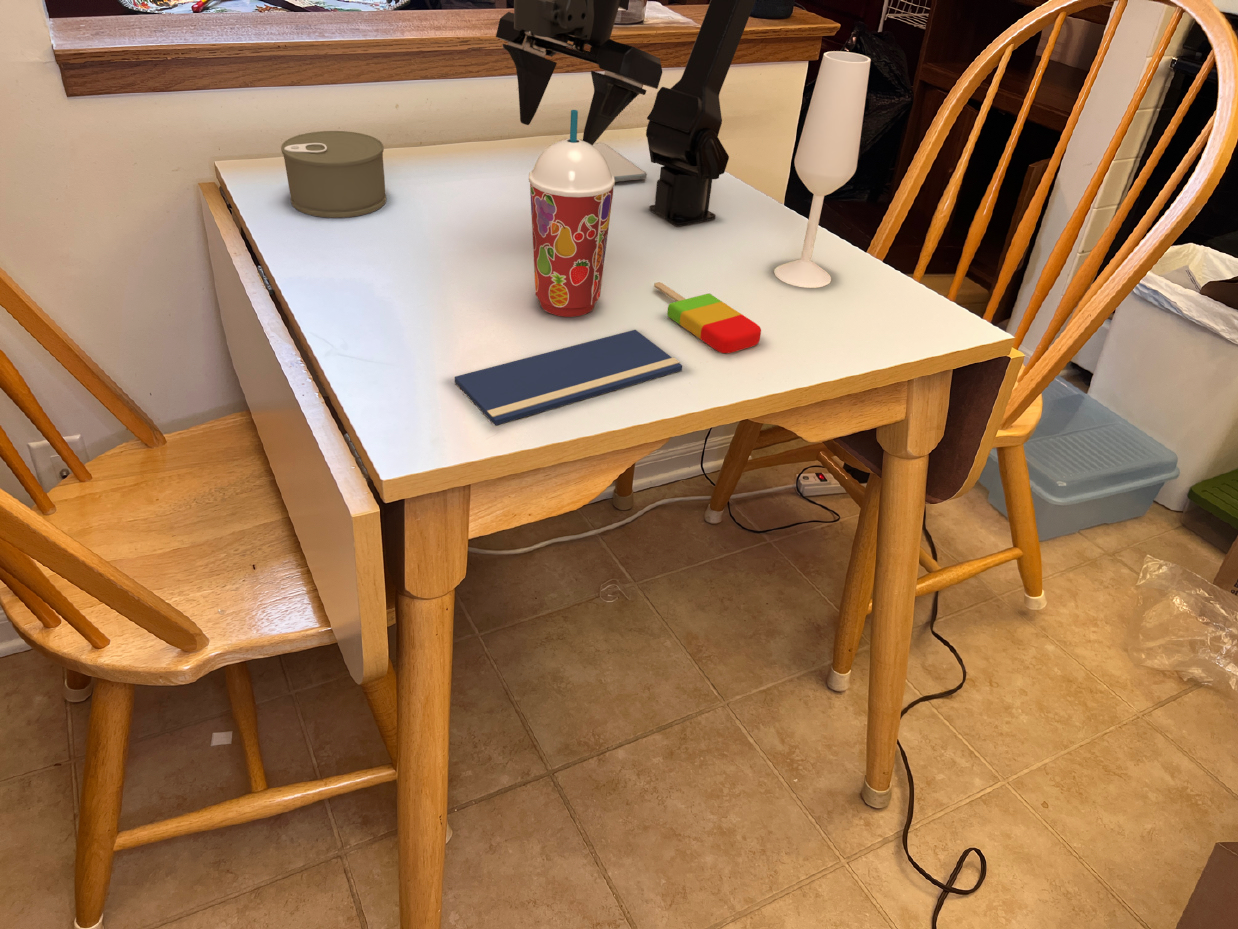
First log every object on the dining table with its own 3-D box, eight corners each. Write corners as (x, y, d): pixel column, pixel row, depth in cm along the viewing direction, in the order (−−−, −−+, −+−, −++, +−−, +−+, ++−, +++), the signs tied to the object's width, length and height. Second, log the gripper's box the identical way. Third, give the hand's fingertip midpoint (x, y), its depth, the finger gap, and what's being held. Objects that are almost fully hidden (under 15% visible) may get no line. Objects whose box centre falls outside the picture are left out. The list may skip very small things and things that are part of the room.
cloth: (634, 334, 92) (635, 328, 92) (682, 370, 87) (682, 364, 87) (454, 382, 83) (454, 375, 82) (495, 426, 78) (495, 419, 77)
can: (394, 215, 113) (389, 159, 109) (292, 221, 109) (284, 164, 105) (380, 181, 122) (376, 128, 118) (286, 186, 118) (278, 132, 114)
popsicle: (722, 357, 90) (725, 340, 89) (635, 295, 99) (636, 280, 98) (764, 344, 93) (767, 328, 91) (675, 285, 102) (677, 270, 101)
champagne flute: (796, 258, 111) (838, 46, 96) (842, 277, 107) (893, 60, 93) (762, 272, 107) (800, 53, 92) (809, 293, 103) (856, 68, 89)
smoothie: (621, 303, 98) (636, 110, 86) (577, 332, 92) (586, 130, 80) (558, 280, 101) (563, 92, 89) (511, 307, 95) (510, 110, 83)
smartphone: (604, 142, 139) (649, 173, 128) (604, 148, 139) (648, 180, 128) (553, 146, 135) (595, 178, 125) (553, 152, 136) (594, 185, 125)
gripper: (476, -68, 89) (439, 97, 94) (617, -37, 79) (567, 144, 85) (552, -30, 98) (514, 118, 103) (687, 2, 88) (638, 164, 94)
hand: (554, 134), depth 96 cm, fingers open, 9 cm apart
